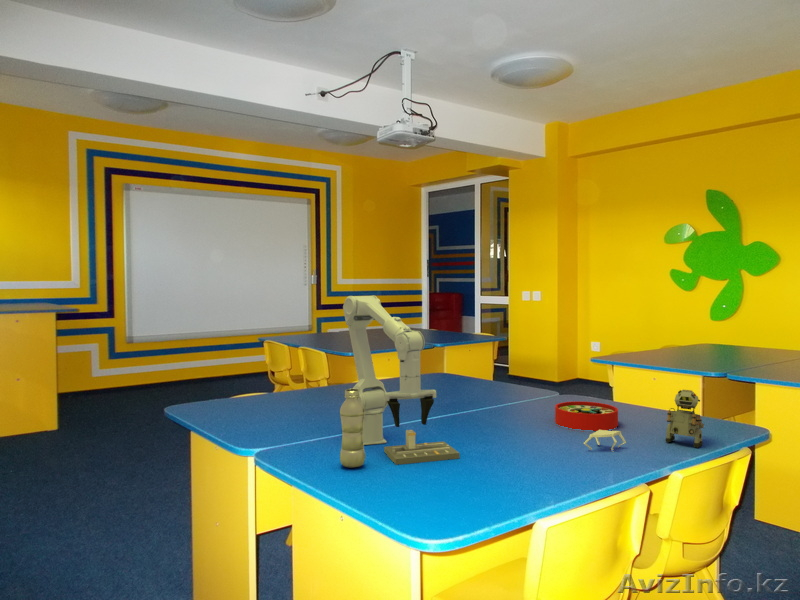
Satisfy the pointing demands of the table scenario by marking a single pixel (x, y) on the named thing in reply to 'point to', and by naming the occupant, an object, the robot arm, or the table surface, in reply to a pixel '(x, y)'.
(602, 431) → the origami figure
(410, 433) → the fader
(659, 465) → the table surface
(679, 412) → the figurine
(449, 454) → the console
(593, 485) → the table surface
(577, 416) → the red round tray
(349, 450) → the plastic bottle
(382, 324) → the robot arm
